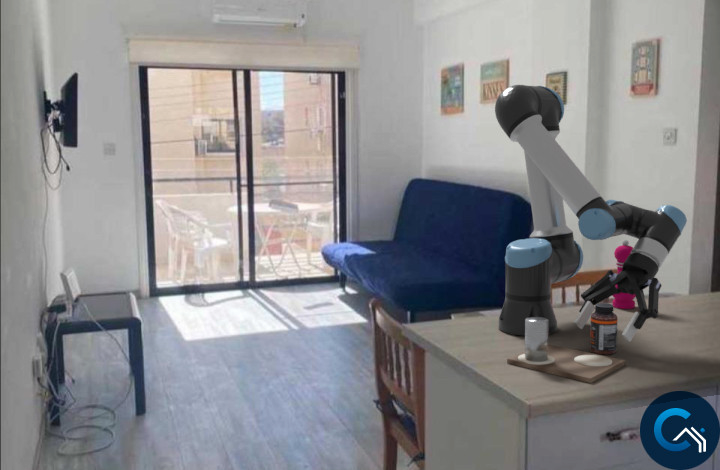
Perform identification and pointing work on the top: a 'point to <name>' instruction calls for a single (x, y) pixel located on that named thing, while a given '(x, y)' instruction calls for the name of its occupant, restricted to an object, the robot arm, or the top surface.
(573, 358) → the board
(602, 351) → the supplement bottle
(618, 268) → the pepper mill
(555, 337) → the top surface
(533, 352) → the pin
